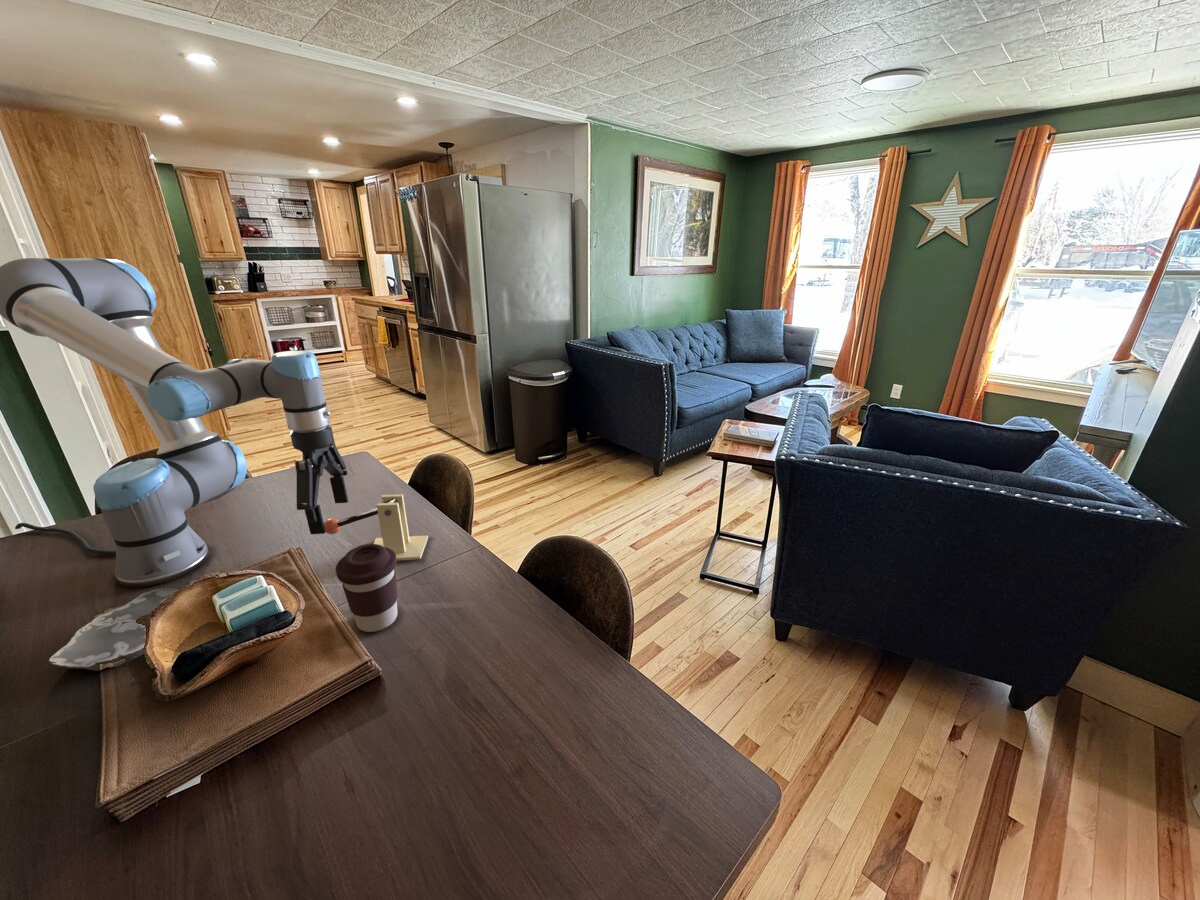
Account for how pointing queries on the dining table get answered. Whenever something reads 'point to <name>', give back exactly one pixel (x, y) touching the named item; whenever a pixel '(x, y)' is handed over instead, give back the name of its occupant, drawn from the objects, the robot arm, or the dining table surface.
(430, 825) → the dining table surface
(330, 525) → the lever
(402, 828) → the dining table surface
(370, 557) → the coffee cup
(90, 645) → the grey stone slab
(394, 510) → the bracket
